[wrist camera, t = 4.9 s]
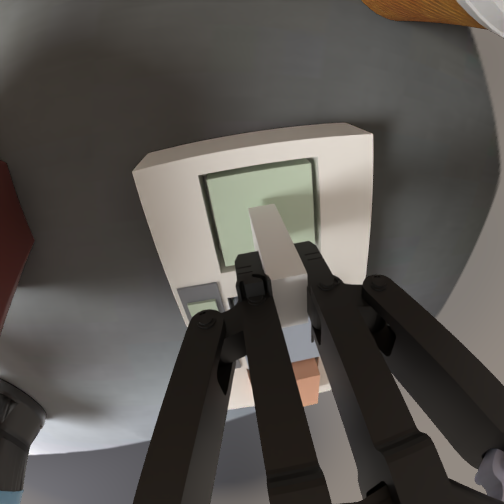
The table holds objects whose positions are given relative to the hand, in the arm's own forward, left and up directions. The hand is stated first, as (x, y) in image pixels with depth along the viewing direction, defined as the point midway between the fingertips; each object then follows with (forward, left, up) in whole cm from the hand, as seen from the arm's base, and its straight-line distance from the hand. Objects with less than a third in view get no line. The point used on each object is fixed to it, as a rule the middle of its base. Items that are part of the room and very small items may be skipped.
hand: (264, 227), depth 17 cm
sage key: (0, 0, -4) cm, 4 cm away
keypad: (0, -9, -5) cm, 10 cm away
